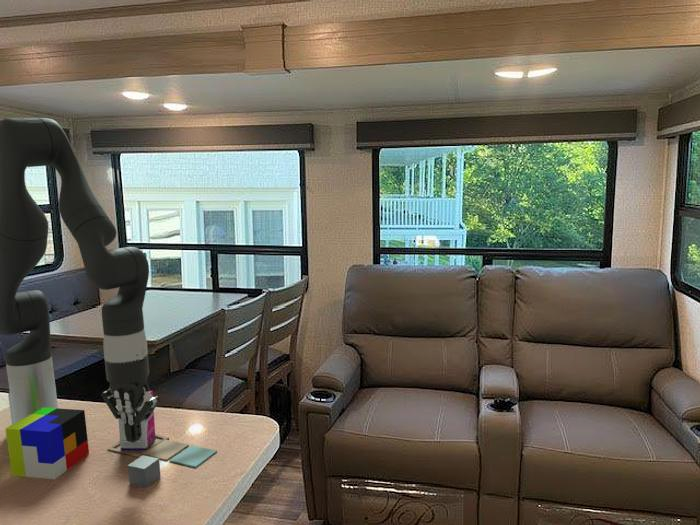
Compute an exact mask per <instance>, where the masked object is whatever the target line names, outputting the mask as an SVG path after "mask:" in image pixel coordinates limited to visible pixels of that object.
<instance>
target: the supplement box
mask: <svg viewBox="0 0 700 525" xmlns="http://www.w3.org/2000/svg"><path fill="white" fill-rule="evenodd" d="M149 393H150V394H151V395H152V396H153V397H154V394H153V393H154V391H153V390H149ZM154 411H155V410H154ZM154 411H153V412H152V414H151V415H150V417H149V418H148V419H146V420H144V421H142V422H141V432H142V436H141V438H140V439H139V440H137V441H136V442H134V443H133V442H128V441H127V440H126V436H125V428H124V423H122V420H121V419H120V418H119V419H118V428H119V430H118V432H119V442H120V445H119V446H120V450H123V451H127V452H130V451H145V450H146V449H148V448H149V447H150V445H151V444H152V443H153V441H154V440H155V439H156V437H155V434H156V426H155V425H156V424H155V412H154Z"/></svg>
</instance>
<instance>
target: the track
mask: <svg viewBox="0 0 700 525" xmlns="http://www.w3.org/2000/svg"><path fill="white" fill-rule="evenodd" d="M155 439H161V440H159V441H157V442H156V443H155V444H153V445H152V446H149V447H148V448H147V449H146V450H142V452H139V453H135V452H130V451H123V450H121V449H120V448H117V447H119V446H120V441H119V442H117V443H115V444H114V445H112V446H110V447H108V448H107V451H110V452H114V453H117V452H118V454H121V453H122V454H123V455H125V454H126V455H127V456H129V457H135V458H137V459H138V458H139V457H141V456H142V455H144V456H149V457H154V458H159V460H161V461H165V462H167V461H168V460H169V462H170V463H174V464H177V465H178V464H179V465H182V466H187V467H191V468H195V469H197V467H199V466H200V465H202V464H203V463H204V462H206V461H207V460H209V459H210V458H211V457H212V456H214V455H215V454H216V453H217V452H218V451H217V450H215V449H211V448H205V447H202V446H198V445H193V444H192V445H189V444H187V443H183V442H178V441H173V440H170V437H169V436H165V435H159V434H156V433H155Z"/></svg>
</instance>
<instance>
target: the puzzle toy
mask: <svg viewBox="0 0 700 525" xmlns="http://www.w3.org/2000/svg"><path fill="white" fill-rule="evenodd" d="M5 436H6V442H7V450H8V459H9V464H10V465H9V466H10V474H11V475H12V476H17V477H28V478H37V479H46V480H47V479H48V480H56V479H58V478H59V477H60V476H62V475H63V474H64V473H65V472H67V471H68V470H69V469H71V468H73V466H75V465H77V464H78V463H79V462H80V461H82V460H83V459H84V458H85V456H86V457H87V456H88V455H90V449H89V447H90V446H89V441H88V440H89V439H88V430H87V422H86V413H85V410H84V409H73V408H59V407H58V408H45V407H44V408H42V409H40V410H38V411H36V412H35V413H33V414H31V415H29V416H27V417H25V418H24V419H22V420H20V421H18V422H16V423H15V424H13V425H12V424H11V425H9V426H7V427H6V428H5ZM82 458H83V459H82ZM81 459H82V460H81ZM78 461H79V462H78ZM77 462H78V463H77ZM74 464H75V465H74ZM70 467H71V468H70Z"/></svg>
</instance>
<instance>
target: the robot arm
mask: <svg viewBox="0 0 700 525" xmlns="http://www.w3.org/2000/svg"><path fill="white" fill-rule="evenodd" d="M78 159H79V158H78V157H77V155H76V152H75V151H74V148H73V147H72V144H71V142H70V140H69V138H68V136H67V134H66V132H65V131H64V129H63V128H62V127H61V125H60V124H59V123H58V122H57V121H56V120H54V119H52V118H47V117H8V118H3V119H2V120H0V335H1V336H10V335H11V336H12V335H18V334H21V333H27V332H29V333H28V335H27V336H26V337H25V338H24V339H23V340H21V341H20V342H18V343H16V344H14V345H13V346H11V347H9V348H8V349H7V350H6V351H5V355H4V358H5V360H4V361H5V365H6V373H7V381H8V388H9V392H8V395H7V396H8V397H7V398H8V402H9V403H8V404H9V409H10V410H9V411H10V418H11V419H10V420H11V425H13V424H15V423H16V422H18V421H20V420H22V419H24V418H25V417H27V416H29V415H31V414H33V413H35V412H36V411H38V410H40V409H42V408H44V407H45V408H59V407H58V398H57V395H58V394H57V387H56V381H55V380H56V379H55V372H54V364H53V357H52V356H53V355H52V337H51V327H50V326H51V325H50V323H51V322H50V321H51V320H50V310H49V302H48V300H47V297H46V295H45V294H44V292H43V291H41V290H36V289H33V290H28V291H27V290H26V291H20V292H19V291H18V289H19V288H20V285H21V284H22V282H23V281H24V279H25V278H26V277H27V276H28V275H29V274H30V273H31V272H32V270H34V268H35V267H36V266H38V264H39V262H40V261H41V260H42V258H43V257H44V256H45V253H46V251H47V248H48V236H49V222H48V218H47V216H46V215H45V213H44V211H43V210H42V208H41V207H40V206H39V204H38V203H37V202H36V201H35V199H34V198H33V197H32V195H31V194H30V193H29V191H28V189H27V185H26V180H25V179H26V178H25V176H26V169H27V168H33V167H47V166H52V167H53V168H54V169H55V170H56V172H58V175H59V176H60V180H61V182H60V184H61V186H60V192H59V198H58V210H59V213H60V216H61V219H62V221H63V223H64V224H65V226H66V227H67V229H68V231H69V232H70V234H71V235H72V237H73V239H74V240H75V241H76V243H77V245H78V248H79V252H80V255H81V259H82V263H83V266H84V270H85V271H84V272H85V274H86V277H87V278H88V280H89V282H90V283H91V284H92V285H93V286H95V287H96V288H97V289H101V290H105V291H106V290H107V291H108V290H109V291H110V290H113V289H118V291H117V294H116V295H115V296H114V297H113V298H111V299H109V300H107V301H106V302H105V303H103V305H102V306H101V321H102V329H103V330H102V331H103V332H102V333H103V345H102V346H103V357H104V358H103V359H104V366H105V376H106V377H105V379H106V381H107V383H109V388H108V389H106V390H104V391H103V392H101V394H100V396H101V397H102V399H103V401H104V402H105V404H106V406H107V407H108V409H109V410H110V412H111V413H112V415H113V417H114V419H116V420H119V418H120V419H121V420H122V423H124V428H125V436H126V440H127V441H128V442H133V443H134V442H136V441H137V440H139V439H140V438H141V436H142V432H141V422H142V421H144V420H146V419H148V418H149V417H150V415H151V414H152V412H153V411H155V409H156V407H157V406H158V404H159V403H160V400H161V399H160V397H159V396H158V395H156V396H154V395H153V396H152V395H151V394H150V393H149V391H150V386H149V384H148V382H147V381H148V377H149V375H150V366H149V365H150V364H149V363H150V362H149V352H148V342H147V341H148V340H147V336H146V333H145V332H146V331H145V321H144V312H143V308H144V303H145V302H144V301H145V297H146V294H147V293H146V292H147V287H148V281H149V275H150V267H149V266H150V265H149V261H148V258H147V256H146V255H145V253H144V252H143V250H141V249H140V248H139V247H135V246H126V247H120V248H111V249H108V248H107V247H108V246H109V245H110V244H112V243H113V242H114V241H115V239H116V236H117V228H116V227H115V224H114V223H113V221H112V220H111V218H110V217H109V216H108V215H107V213H106V212H105V210H104V208H103V206H102V205H101V204H100V202H99V201H98V200H97V198H96V196H95V195H94V193H93V191H92V189H91V187H90V185H89V183H88V180H87V177H86V176H85V173H84V170H83V168H82V166H81V164H80V162H79V160H78ZM17 291H18V292H17Z"/></svg>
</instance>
